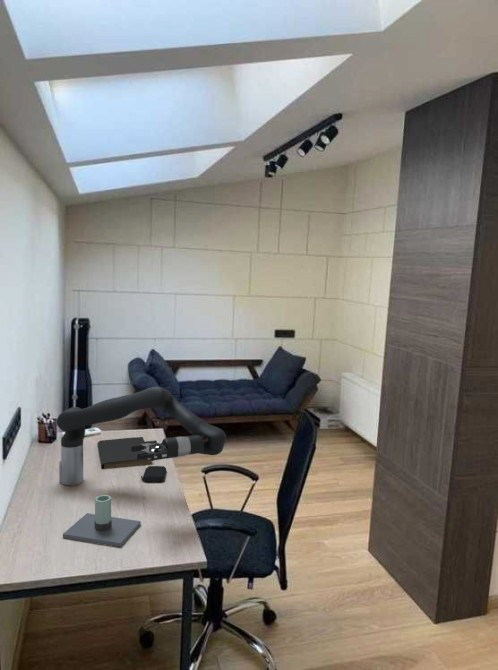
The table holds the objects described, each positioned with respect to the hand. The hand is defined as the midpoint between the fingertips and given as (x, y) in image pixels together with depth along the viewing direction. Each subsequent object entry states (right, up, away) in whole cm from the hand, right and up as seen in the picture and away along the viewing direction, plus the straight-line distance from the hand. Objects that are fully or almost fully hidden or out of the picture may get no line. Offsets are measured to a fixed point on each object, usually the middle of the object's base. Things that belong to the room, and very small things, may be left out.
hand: (134, 452), depth 183 cm
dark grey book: (-22, -19, +74) cm, 80 cm away
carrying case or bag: (-2, -23, +48) cm, 54 cm away
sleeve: (-11, -27, -2) cm, 29 cm away
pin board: (-11, -28, -2) cm, 30 cm away
